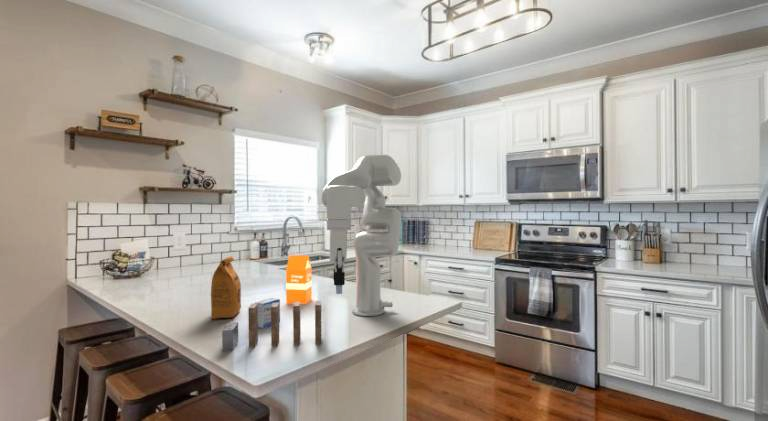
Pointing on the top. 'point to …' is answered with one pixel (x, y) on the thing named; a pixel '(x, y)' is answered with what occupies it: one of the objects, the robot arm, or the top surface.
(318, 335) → the domino
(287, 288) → the orange juice
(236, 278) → the coffee package
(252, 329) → the domino
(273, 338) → the domino
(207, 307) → the top surface
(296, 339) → the domino
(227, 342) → the block
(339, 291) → the domino
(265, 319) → the medicine box
